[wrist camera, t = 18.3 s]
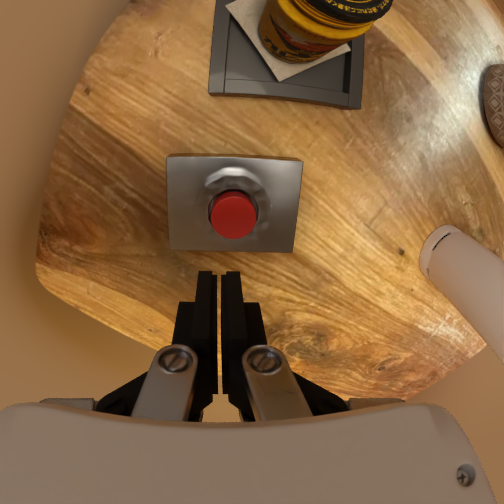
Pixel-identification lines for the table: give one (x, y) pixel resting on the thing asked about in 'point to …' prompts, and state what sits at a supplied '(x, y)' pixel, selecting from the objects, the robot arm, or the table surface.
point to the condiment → (304, 29)
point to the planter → (495, 101)
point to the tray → (263, 79)
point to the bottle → (468, 281)
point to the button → (233, 215)
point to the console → (226, 180)
